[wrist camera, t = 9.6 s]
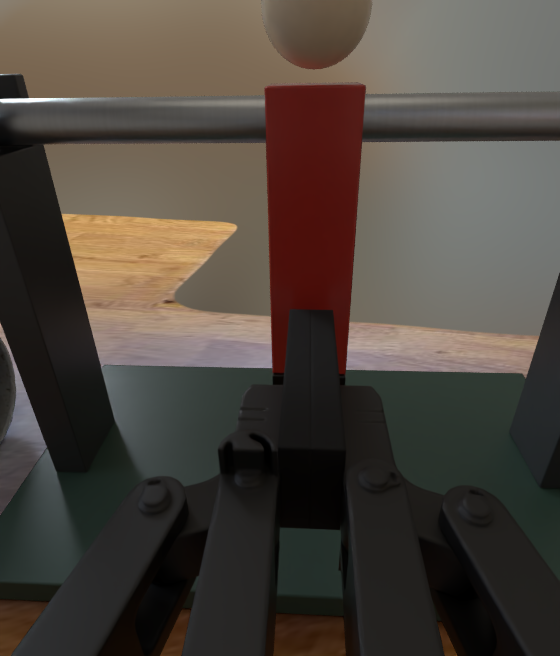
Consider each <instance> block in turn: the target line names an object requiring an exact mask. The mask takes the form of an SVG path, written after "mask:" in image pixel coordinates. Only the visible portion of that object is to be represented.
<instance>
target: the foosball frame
mask: <svg viewBox="0 0 560 656" xmlns="http://www.w3.org/2000/svg"><path fill="white" fill-rule="evenodd" d="M0 99H29V97H28V93H27V90H26V85H25V82H24V78H23V75H21V74H0ZM0 322H1V325H2V328H3V330H4V333H5V336H6V338H7V341H8V344H9V346H10V349H11V352H12V354H13V357H14V360H15V363H16V365H17V368H18V371H19V373H20V376H21V379H22V381H23V384H24V387H25V389H26V392H27V395H28V397H29V400H30V403H31V406H32V408H33V411H34V414H35V416H36V419H37V422H38V424H39V427H40V430H41V432H42V435H43V438H44V441H45V443H46V446H47V448H46V450H45V451H44V453H43V454H42V456H41V457H40V459H39V460H38V461H37V463H36V464H35V466H34V467H33V469H32V470H31V472H30V473H29V475H28V476H27V477H26V479H25V480H24V482H23V483H22V485H21V486H20V488H19V489H18V491H17V492H16V494H15V495H14V496H13V498H12V499H11V501H10V502H9V504H8V505H7V507H6V508H5V510H4V511H3V512H2V514H1V515H0V599H15V600H34V601H51V599H52V598H53V596H54V595H55V594H56V592H57V591H58V590H59V588H60V587H61V585H62V584H63V583H64V581H65V580H66V579H67V577H68V576H69V574H70V573H71V572H72V570H73V569H74V567H75V566H76V565H77V563H78V562H79V561H80V559H81V558H82V556H83V555H84V554H85V552H86V551H87V550H88V548H89V547H90V545H91V544H92V543H93V541H94V540H95V538H96V537H97V536H98V534H99V533H100V532H101V530H102V529H103V527H104V526H105V525H106V523H107V522H108V520H109V519H110V518H111V516H112V515H113V514H114V512H115V511H116V509H117V508H118V507H119V505H120V504H121V503H122V501H123V500H124V498H125V497H126V496H127V494H128V493H129V492H130V491H131V490H132V489H133V488H134V487H135V486H136V485H137V484H138V483H140V482H142V481H144V480H146V479H147V478H151V477H156V476H170V477H173V478H175V479H177V480H179V481H180V482H181V484H182V485H183V486H188V485H192V484H197V483H201V482H204V481H207V480H209V479H211V478H213V477H215V476H216V475H218V474H219V473H220V466H219V458H218V447H219V445H220V443H221V441H222V440H223V439H224V438H225V437H227V436H228V435H229V434H231V433H233V432H235V429H236V424H237V420H238V414H239V410H240V404H241V400H242V395H243V394H244V393H245V391H246V390H247V389H248V388H249V387H250V386H251V384H263V385H272V373H273V372H272V368H225V367H175V366H126V365H104V366H103V367H102V368H101V365H100V361H99V358H98V354H97V350H96V346H95V342H94V338H93V334H92V331H91V327H90V323H89V319H88V315H87V311H86V307H85V304H84V300H83V296H82V292H81V288H80V284H79V280H78V277H77V273H76V269H75V265H74V261H73V257H72V253H71V250H70V246H69V242H68V238H67V234H66V230H65V226H64V223H63V219H62V215H61V211H60V207H59V204H58V199H57V195H56V192H55V188H54V184H53V180H52V176H51V172H50V168H49V165H48V161H47V157H46V153H45V149H44V146H43V144H38V145H0ZM345 385H353V386H372V387H373V388H374V389H375V391H376V392H377V393H378V394H379V395H380V397H381V399H382V404H383V409H384V413H385V418H386V423H387V427H388V432H389V437H390V441H391V446H392V451H393V455H394V460H395V464H396V466H397V469H398V470H399V471H400V472H401V473H402V475H403V476H404V477H405V478H406V479H407V480H408V481H409V482H411V483H413V484H414V485H416V486H418V487H421V488H423V489H426V490H429V491H432V492H436V493H439V494H442V495H445V494H446V492H447V491H448V490H449V489H451V488H453V487H456V486H459V485H471V486H475V487H478V488H482V489H484V490H486V491H488V492H489V493H491V494H493V495H494V496H496V497H497V498H498V499H499V500H500V501H501V502H502V503H503V504H504V505H505V507H506V508H507V510H508V511H509V512H510V514H511V515H512V516H513V518H514V519H515V521H516V522H517V523H518V525H519V526H520V527H521V529H522V530H523V532H524V533H525V534H526V536H527V537H528V538H529V540H530V541H531V543H532V544H533V545H534V547H535V548H536V549H537V551H538V552H539V554H540V555H541V556H542V558H543V559H544V560H545V562H546V563H547V564H548V566H549V567H550V569H551V570H552V571H553V573H554V574H555V575H556V577H557V578H558V580H559V581H560V273H559V276H558V280H557V283H556V286H555V289H554V292H553V295H552V298H551V302H550V305H549V308H548V311H547V314H546V317H545V320H544V324H543V327H542V330H541V333H540V336H539V339H538V342H537V346H536V349H535V352H534V355H533V358H532V361H531V364H530V368H529V371H528V374H527V377H526V379H525V377H524V376H523V374H520V373H471V372H422V371H373V370H346V382H345ZM279 539H280V553H279V570H278V586H277V603H276V613H292V614H312V615H332V616H344V613H343V596H342V579H341V571H338V568H339V556H340V544H341V528H340V530H326V529H302V528H280V535H279ZM198 577H199V576H197V577H196V580H195V582H194V584H193V586H192V588H191V591H190V593H189V595H188V597H187V599H186V601H185V603H184V605H183V608H192V605H193V600H194V596H195V591H196V586H197V582H198ZM432 602H433V601H432ZM433 606H434V611H435V615H436V620H437V621H441V618H440V616H439V614H438V612H437V610H436V608H435V605H434V603H433Z"/></svg>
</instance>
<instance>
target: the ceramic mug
mask: <svg viewBox="0 0 560 656" xmlns="http://www.w3.org/2000/svg"><path fill="white" fill-rule="evenodd" d="M15 399H16V385H15V374H14V370H13V365H12V362H11V358H10V355H9V352H8V350H7V348H6V346H5V344H4V343H3V341H2V340H1V338H0V444H1V442H2V440H3V439H4V437H5V435H6V433H7V430H8V428H9V425H10V423H11V421H12V415H13V411H14V406H15Z"/></svg>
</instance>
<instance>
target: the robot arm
mask: <svg viewBox="0 0 560 656" xmlns="http://www.w3.org/2000/svg"><path fill="white" fill-rule="evenodd" d="M218 458H219V466H220V473H219V474H218V475H216V476H215V477H213V478H211V479H209V480H207V481H204V482H201V483H197V484H192V485H188V486H183V485H182V484H181V482H180V481H179V480H177V479H175V478H173V477H170V476H156V477H151V478H147V479H146V480H144V481H142V482H140V483H138V484H137V485H136V486H135V487H134V488H133V489H132V490H131V491H130V492H129V493H128V494H127V496H126V497H125V498H124V500H123V501H122V503H121V504H120V505H119V507H118V508H117V509H116V511H115V512H114V514H113V515H112V516H111V518H110V519H109V520H108V522H107V523H106V525H105V526H104V527H103V529H102V530H101V532H100V533H99V534H98V536H97V537H96V538H95V540H94V541H93V543H92V544H91V545H90V547H89V548H88V550H87V551H86V552H85V554H84V555H83V556H82V558H81V559H80V561H79V562H78V563H77V565H76V566H75V567H74V569H73V570H72V572H71V573H70V574H69V576H68V577H67V579H66V580H65V581H64V583H63V584H62V585H61V587H60V588H59V590H58V591H57V592H56V594H55V595H54V596H53V598H52V599H51V601H50V602H49V603H48V605H47V606H46V608H45V609H44V610H43V612H42V613H41V614H40V616H39V617H38V619H37V620H36V621H35V623H34V624H33V626H32V627H31V628H30V630H29V631H28V632H27V634H26V635H25V637H24V638H23V639H22V641H21V642H20V643H19V645H18V646H17V648H16V649H15V650H14V652H13V653H12V655H11V656H160V654H161V652H162V650H163V648H164V646H165V644H166V641H167V639H168V637H169V635H170V633H171V631H172V629H173V627H174V624H175V622H176V620H177V618H178V616H179V614H180V612H181V610H182V608H183V605H184V603H185V601H186V599H187V597H188V595H189V593H190V591H191V588H192V586H193V584H194V582H195V580H196V577H197V576H199V577H198V582H197V586H196V591H195V596H194V600H193V605H192V610H191V614H190V619H189V624H188V628H187V633H186V637H185V642H184V647H183V651H182V656H273V653H274V636H275V619H276V603H277V586H278V570H279V553H280V539H279V535H280V528H302V529H326V530H340V528H341V544H340V556H339V568H338V571H341V579H342V596H343V613H344V631H345V648H346V656H445V655H444V651H443V646H442V642H441V637H440V633H439V629H438V624H437V620H436V615H435V611H434V606H433V603H434V605H435V608H436V610H437V612H438V614H439V616H440V618H441V621H442V623H443V625H444V627H445V629H446V631H447V633H448V636H449V638H450V640H451V642H452V644H453V646H454V649H455V651H456V653H457V655H458V656H560V581H559V580H558V578H557V577H556V575H555V574H554V573H553V571H552V570H551V569H550V567H549V566H548V564H547V563H546V562H545V560H544V559H543V558H542V556H541V555H540V554H539V552H538V551H537V549H536V548H535V547H534V545H533V544H532V543H531V541H530V540H529V538H528V537H527V536H526V534H525V533H524V532H523V530H522V529H521V527H520V526H519V525H518V523H517V522H516V521H515V519H514V518H513V516H512V515H511V514H510V512H509V511H508V510H507V508H506V507H505V505H504V504H503V503H502V502H501V501H500V500H499V499H498V498H497V497H496V496H494V495H493V494H491V493H489V492H488V491H486V490H484V489H482V488H478V487H475V486H471V485H459V486H456V487H453V488H451V489H449V490H448V491H447V492H446V494H445V495H442V494H439V493H436V492H432V491H429V490H426V489H423V488H421V487H418V486H416V485H414V484H413V483H411V482H409V481H408V480H407V479H406V478H405V477H404V476H403V475H402V473H401V472H400V471H399V470H398V469H397V466H396V464H395V460H394V455H393V451H392V446H391V441H390V437H389V432H388V427H387V423H386V418H385V413H384V409H383V404H382V399H381V397H380V395H379V394H378V393H377V392H376V391H375V389H374V388H373V387H372V386H353V385H340V378H339V367H338V356H337V346H336V335H335V324H334V314H333V310H312V309H290V310H289V322H288V334H287V346H286V357H285V369H284V381H283V385H263V384H251V386H250V387H249V388H248V389H247V390H246V391H245V393H244V394H243V395H242V400H241V404H240V410H239V414H238V420H237V424H236V429H235V432H233V433H231V434H229V435H228V436H227V437H225V438H224V439H223V440H222V441H221V443H220V445H219V447H218ZM432 601H433V602H432Z"/></svg>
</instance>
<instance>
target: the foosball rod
mask: <svg viewBox="0 0 560 656" xmlns="http://www.w3.org/2000/svg"><path fill="white" fill-rule="evenodd" d="M261 8H262V18H263V23H264V27H265V30H266V33H267V35H268V37H269V40H270V41H271V43H272V45H273V46H274V48H275V49H276V50H277V51H278V53H279V54H280V55H281V56H282V57H283V58H285V59H286V60H288V61H289V62H290V63H292V64H294V65H296V66H299V67H301V68H306V69H323V68H327V67H330V66H332V65H335V64H337V63H338V62H340V61H342V60H343V59H344V58H346V57H347V56H348V55H349V54H350V53H351V52H352V51H353V50H354V49H355V48H356V46H357V45H358V43H359V42H360V40H361V39H362V37H363V35H364V33H365V31H366V28H367V26H368V23H369V19H370V15H371V9H372V0H261ZM365 93H366V86H365V85H363V84H361V83H357V82H356V83H294V84H293V83H289V84H270V85H268V86H266V87H265V96H199V97H198V96H196V97H195V96H191V97H121V98H119V97H117V98H49V99H48V98H43V99H0V145H38V144H164V143H165V144H166V143H167V144H168V143H266V159H267V194H268V229H269V263H270V300H271V337H272V372H273V373H272V385H283V381H284V369H285V357H286V346H287V334H288V322H289V310H290V309H312V310H333V314H334V324H335V335H336V346H337V356H338V367H339V378H340V385H345V382H346V361H347V346H348V332H349V317H350V304H351V289H352V275H353V262H354V247H355V234H356V220H357V205H358V190H359V177H360V163H361V149H362V142H415V141H416V142H421V141H423V142H429V141H549V140H550V141H551V140H552V141H559V140H560V92H496V93H495V92H489V93H416V94H415V93H414V94H365Z"/></svg>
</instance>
